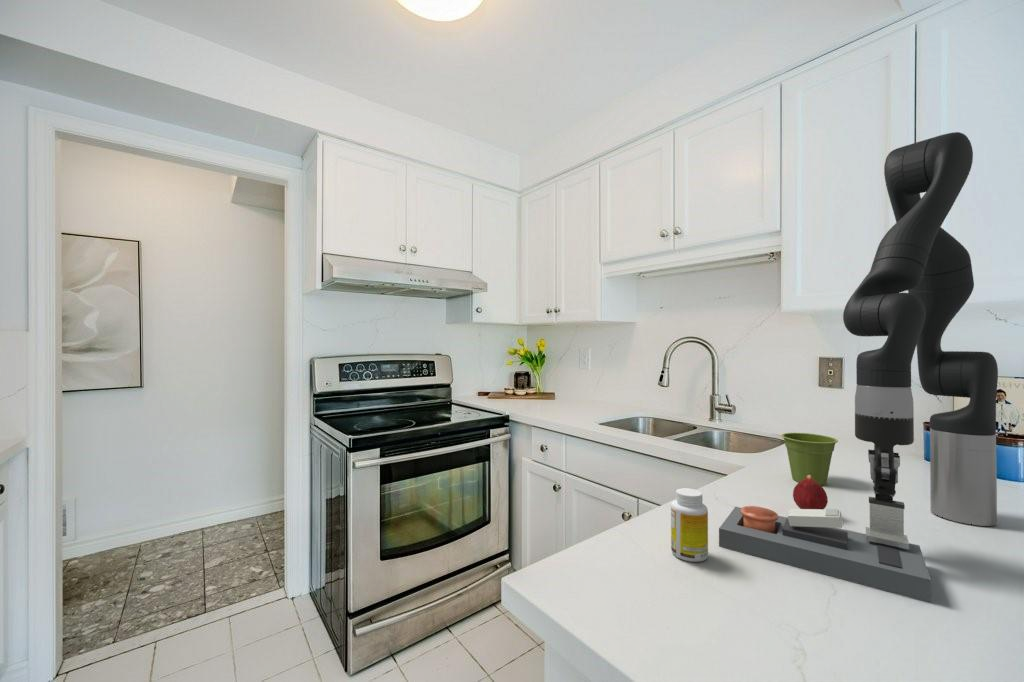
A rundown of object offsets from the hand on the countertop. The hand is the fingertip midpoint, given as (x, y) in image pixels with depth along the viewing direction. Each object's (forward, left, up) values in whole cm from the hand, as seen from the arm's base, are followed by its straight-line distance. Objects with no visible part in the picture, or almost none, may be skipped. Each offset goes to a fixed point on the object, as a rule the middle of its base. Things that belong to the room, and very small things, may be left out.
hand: (884, 516), depth 73 cm
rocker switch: (+10, -9, 0) cm, 13 cm away
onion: (-10, -11, -6) cm, 16 cm away
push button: (+10, -17, -5) cm, 20 cm away
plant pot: (-37, -13, -6) cm, 40 cm away
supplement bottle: (+23, -25, -6) cm, 34 cm away
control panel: (+10, -9, -6) cm, 14 cm away
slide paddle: (+6, 0, -2) cm, 6 cm away
